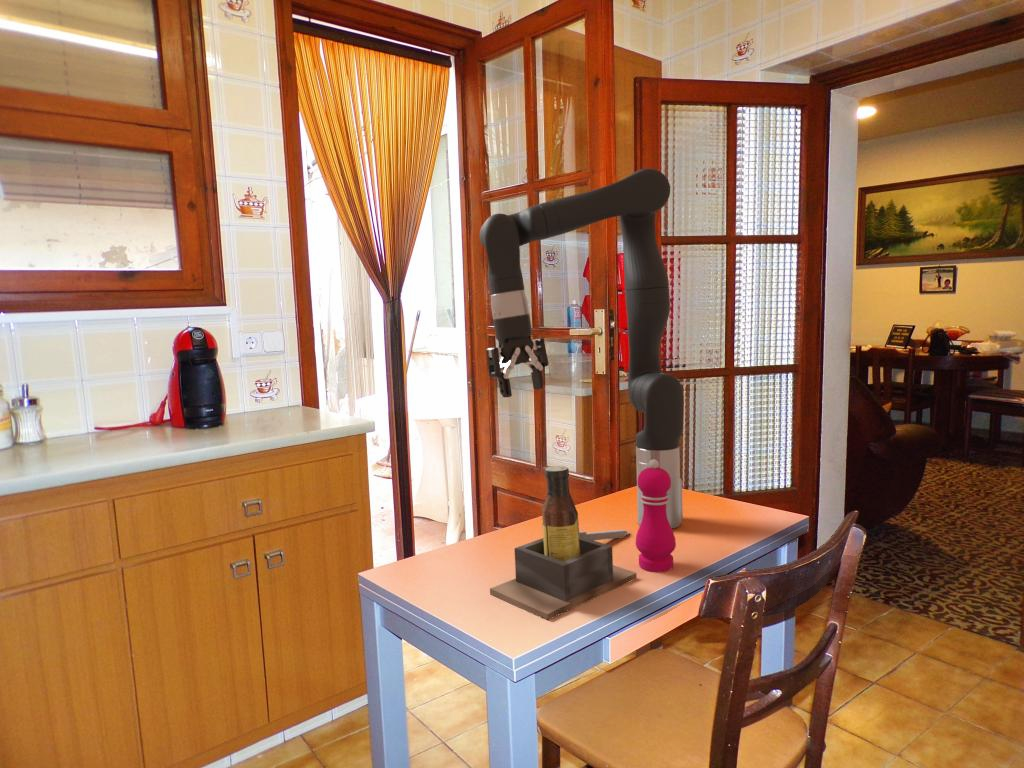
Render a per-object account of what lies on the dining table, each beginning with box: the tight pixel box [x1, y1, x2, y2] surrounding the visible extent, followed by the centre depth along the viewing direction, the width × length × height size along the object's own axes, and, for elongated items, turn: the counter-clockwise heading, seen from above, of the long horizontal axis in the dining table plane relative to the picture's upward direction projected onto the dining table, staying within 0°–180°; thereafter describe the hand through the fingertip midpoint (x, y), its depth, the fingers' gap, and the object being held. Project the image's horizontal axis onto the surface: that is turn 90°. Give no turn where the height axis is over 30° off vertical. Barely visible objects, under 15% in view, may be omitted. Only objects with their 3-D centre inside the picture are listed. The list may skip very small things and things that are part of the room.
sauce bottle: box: [541, 465, 580, 562], centre depth 116 cm, size 6×6×20 cm
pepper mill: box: [635, 459, 677, 573], centre depth 123 cm, size 7×7×20 cm
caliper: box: [579, 529, 632, 541], centre depth 135 cm, size 20×1×6 cm, turn 129°
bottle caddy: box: [489, 536, 638, 620], centre depth 117 cm, size 22×14×7 cm, turn 131°
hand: (523, 393), depth 139 cm, fingers open, 8 cm apart
